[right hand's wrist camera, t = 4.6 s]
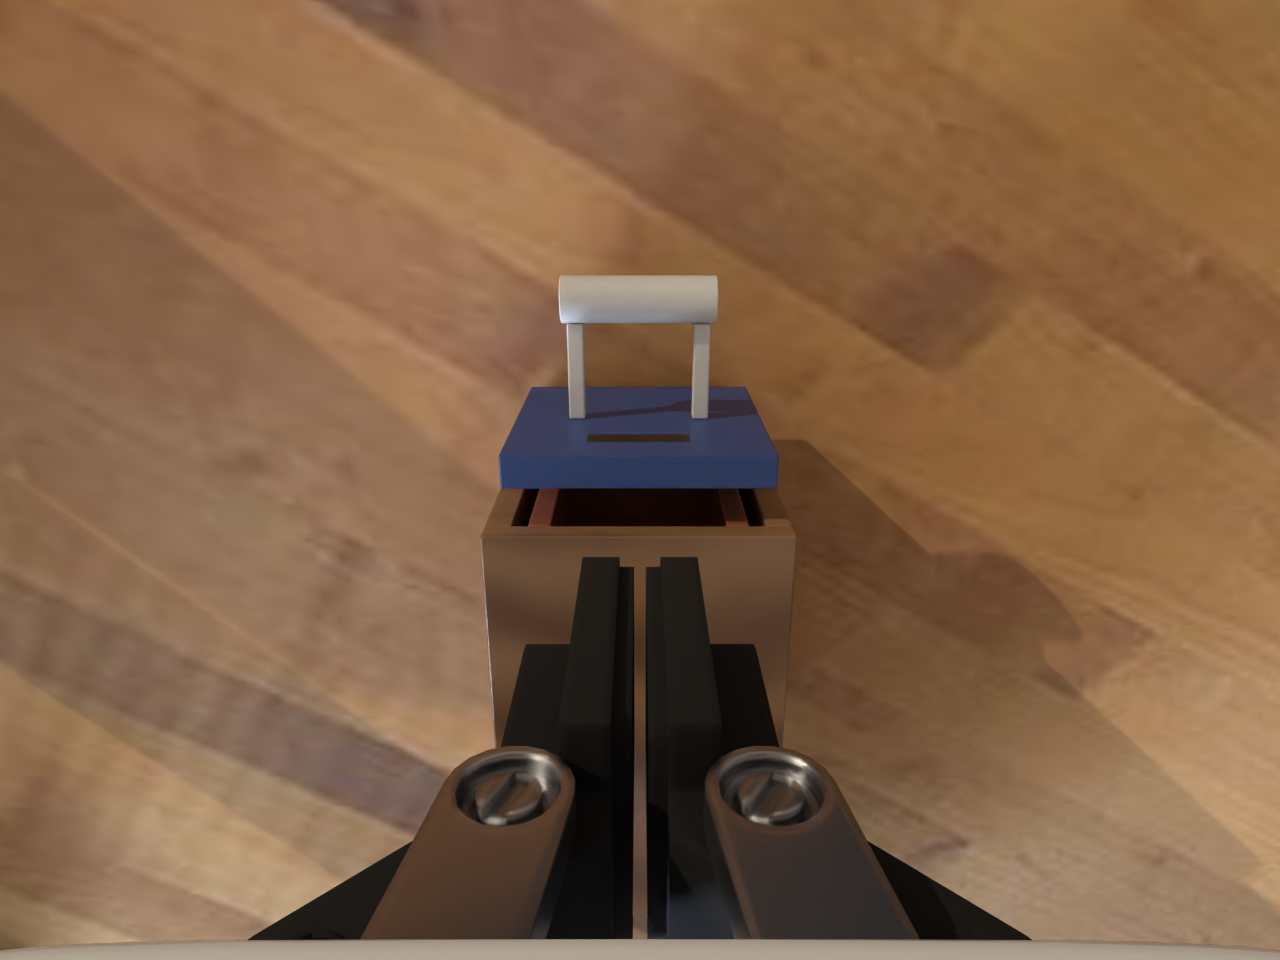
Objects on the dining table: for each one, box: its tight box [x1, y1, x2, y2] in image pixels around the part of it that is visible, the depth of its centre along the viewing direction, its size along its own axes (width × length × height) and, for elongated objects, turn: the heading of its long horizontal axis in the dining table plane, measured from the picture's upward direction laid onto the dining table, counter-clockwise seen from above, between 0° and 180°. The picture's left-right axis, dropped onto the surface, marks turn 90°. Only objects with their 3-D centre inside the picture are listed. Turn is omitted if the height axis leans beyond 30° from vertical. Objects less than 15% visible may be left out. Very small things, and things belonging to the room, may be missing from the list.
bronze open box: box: [480, 488, 797, 916], centre depth 36 cm, size 16×10×11 cm, turn 0°
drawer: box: [499, 275, 779, 526], centre depth 34 cm, size 20×9×9 cm, turn 0°
